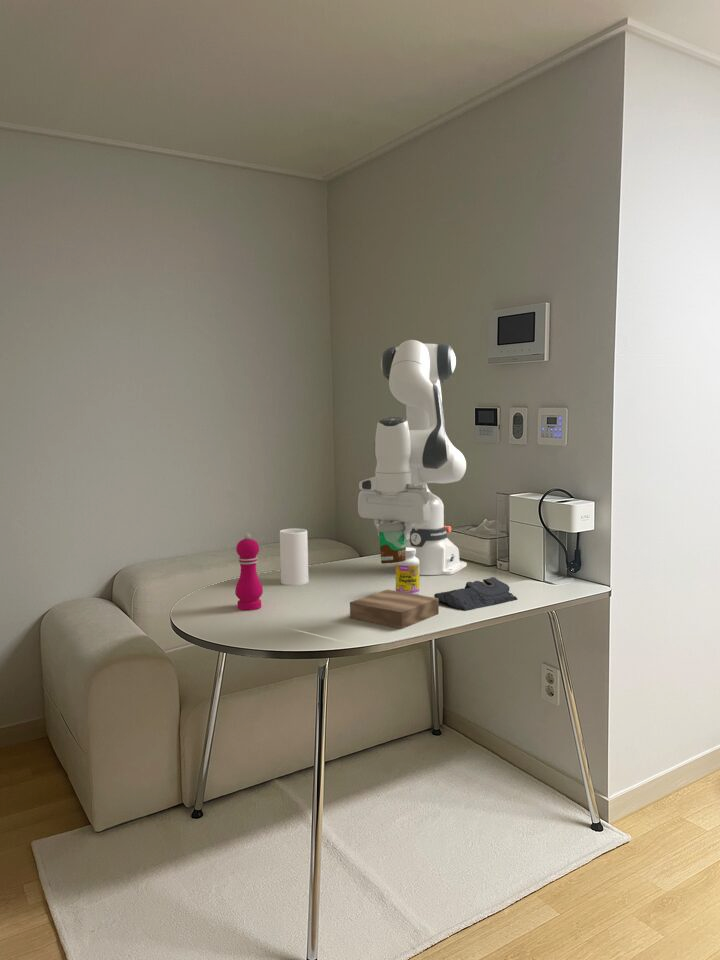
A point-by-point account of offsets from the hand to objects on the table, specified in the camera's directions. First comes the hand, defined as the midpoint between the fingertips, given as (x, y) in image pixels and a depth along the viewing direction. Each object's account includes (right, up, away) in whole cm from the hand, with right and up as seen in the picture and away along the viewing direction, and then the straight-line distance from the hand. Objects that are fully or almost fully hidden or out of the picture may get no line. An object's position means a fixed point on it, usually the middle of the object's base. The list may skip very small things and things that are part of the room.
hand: (393, 538), depth 193 cm
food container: (+1, -6, 0) cm, 6 cm away
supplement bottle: (+5, -18, +24) cm, 30 cm away
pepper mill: (-38, -20, +12) cm, 44 cm away
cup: (-28, -17, +39) cm, 50 cm away
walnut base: (0, -20, +2) cm, 20 cm away
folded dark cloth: (+23, -19, +17) cm, 34 cm away
